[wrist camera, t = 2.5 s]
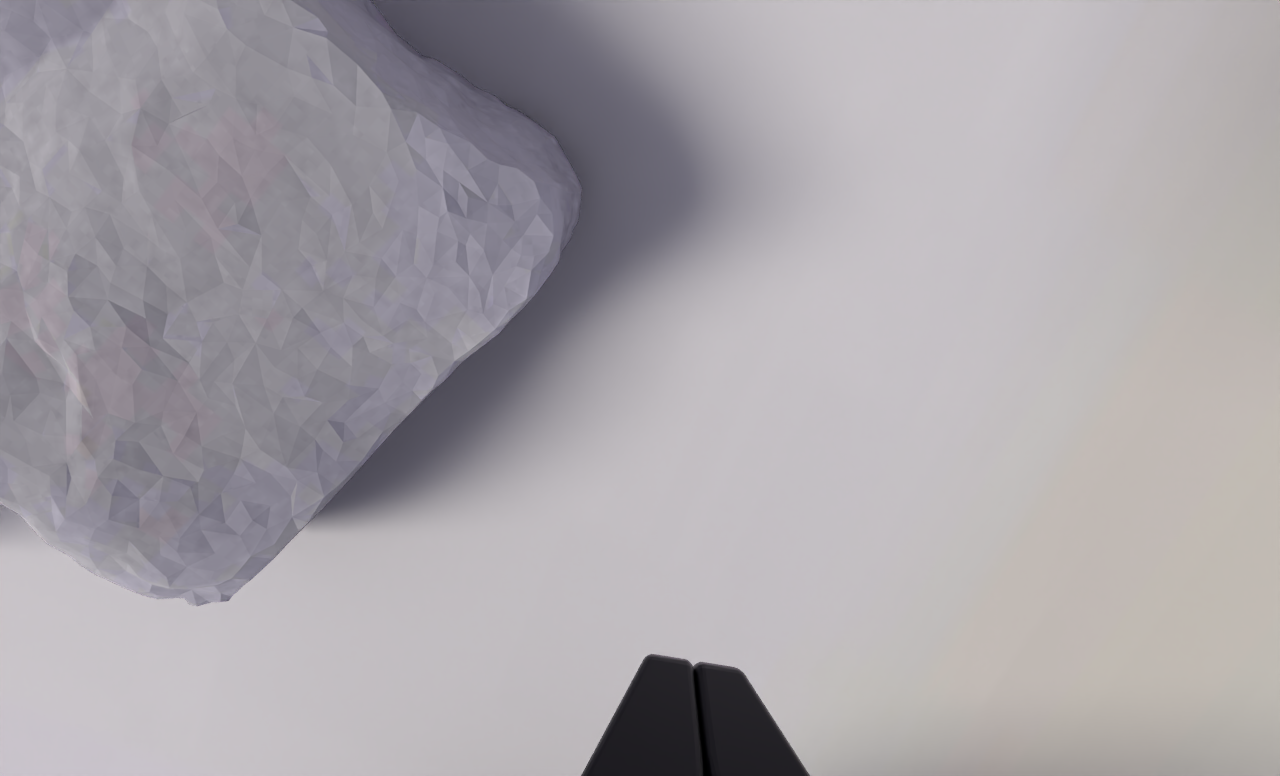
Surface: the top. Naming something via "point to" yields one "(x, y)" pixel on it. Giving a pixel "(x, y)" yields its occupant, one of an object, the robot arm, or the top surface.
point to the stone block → (239, 267)
